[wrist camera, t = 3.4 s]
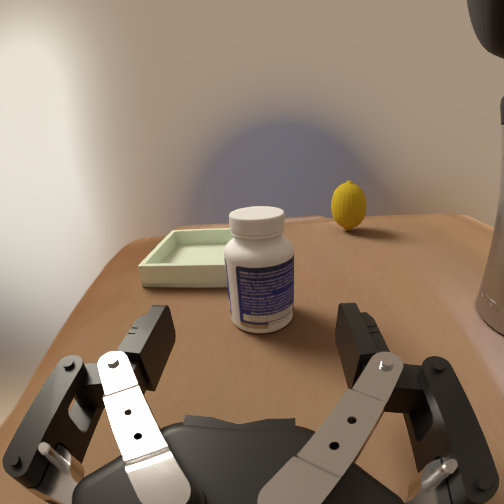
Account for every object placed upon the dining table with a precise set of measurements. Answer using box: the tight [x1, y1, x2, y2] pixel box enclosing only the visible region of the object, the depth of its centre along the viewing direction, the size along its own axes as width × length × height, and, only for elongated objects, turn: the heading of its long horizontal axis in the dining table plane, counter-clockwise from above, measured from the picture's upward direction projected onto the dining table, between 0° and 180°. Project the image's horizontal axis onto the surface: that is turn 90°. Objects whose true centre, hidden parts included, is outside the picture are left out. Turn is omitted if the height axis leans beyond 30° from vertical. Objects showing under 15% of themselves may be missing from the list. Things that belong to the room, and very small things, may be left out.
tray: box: [138, 228, 234, 288], centre depth 34 cm, size 12×12×2 cm
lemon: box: [331, 181, 366, 231], centre depth 41 cm, size 6×6×8 cm
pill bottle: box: [224, 206, 294, 333], centre depth 22 cm, size 5×5×9 cm
